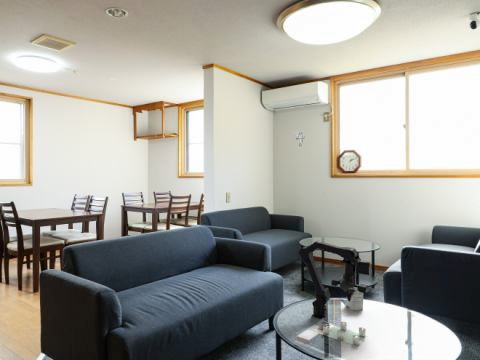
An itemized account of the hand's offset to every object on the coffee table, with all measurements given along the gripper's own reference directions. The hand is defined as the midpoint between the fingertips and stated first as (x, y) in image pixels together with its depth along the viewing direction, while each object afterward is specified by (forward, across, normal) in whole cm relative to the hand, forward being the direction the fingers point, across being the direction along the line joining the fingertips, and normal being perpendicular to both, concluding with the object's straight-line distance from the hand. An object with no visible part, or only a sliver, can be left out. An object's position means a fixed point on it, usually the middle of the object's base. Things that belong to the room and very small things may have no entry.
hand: (349, 301), depth 180 cm
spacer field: (+11, +4, -16) cm, 20 cm away
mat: (+12, +2, -16) cm, 20 cm away
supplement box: (+12, -6, +23) cm, 27 cm away
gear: (+11, -6, -16) cm, 21 cm away
